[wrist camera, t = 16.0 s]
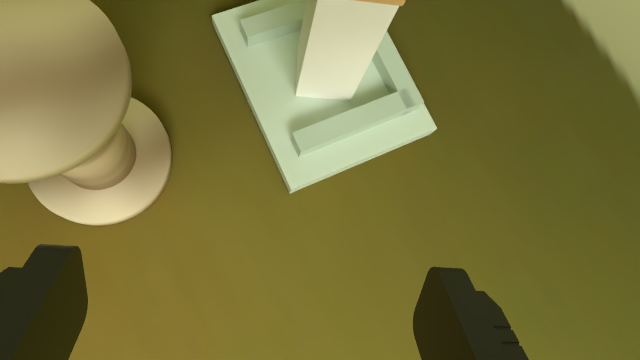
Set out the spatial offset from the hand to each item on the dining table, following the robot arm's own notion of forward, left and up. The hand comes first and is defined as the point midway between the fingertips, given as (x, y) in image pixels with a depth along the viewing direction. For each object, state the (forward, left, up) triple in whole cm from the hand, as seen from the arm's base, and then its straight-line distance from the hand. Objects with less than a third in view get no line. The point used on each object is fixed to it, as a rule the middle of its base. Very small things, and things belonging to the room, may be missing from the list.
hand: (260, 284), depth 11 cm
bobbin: (-10, -5, -16) cm, 20 cm away
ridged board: (-10, +9, -16) cm, 21 cm away
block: (-10, +9, -15) cm, 20 cm away
